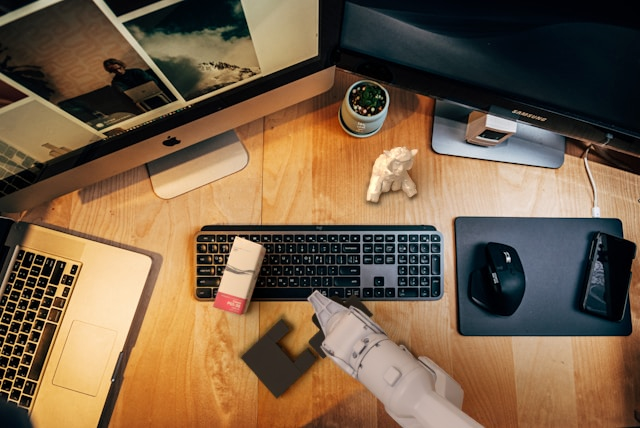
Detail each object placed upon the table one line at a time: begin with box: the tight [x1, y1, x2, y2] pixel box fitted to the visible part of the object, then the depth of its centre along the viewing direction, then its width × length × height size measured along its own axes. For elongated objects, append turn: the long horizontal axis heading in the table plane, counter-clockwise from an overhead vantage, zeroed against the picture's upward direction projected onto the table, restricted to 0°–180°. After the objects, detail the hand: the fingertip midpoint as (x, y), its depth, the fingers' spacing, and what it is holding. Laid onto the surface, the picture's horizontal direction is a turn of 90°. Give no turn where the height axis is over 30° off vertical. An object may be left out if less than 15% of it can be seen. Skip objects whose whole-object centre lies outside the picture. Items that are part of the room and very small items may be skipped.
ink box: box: [212, 236, 267, 316], centre depth 74 cm, size 9×5×12 cm
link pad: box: [308, 293, 374, 360], centre depth 74 cm, size 5×11×3 cm, turn 133°
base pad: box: [240, 318, 318, 400], centre depth 75 cm, size 9×9×3 cm
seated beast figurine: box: [365, 146, 419, 203], centre depth 76 cm, size 10×9×12 cm
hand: (340, 325), depth 74 cm, fingers closed on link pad, 4 cm apart
